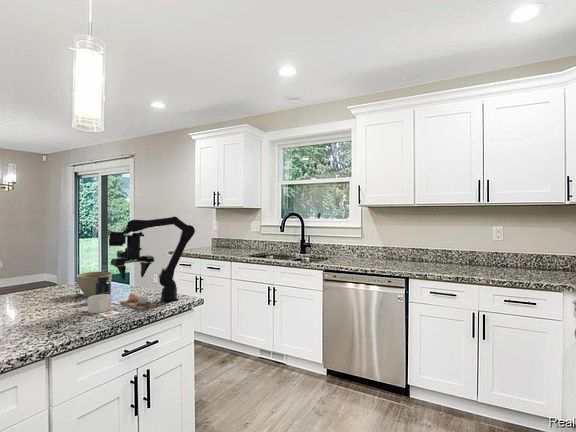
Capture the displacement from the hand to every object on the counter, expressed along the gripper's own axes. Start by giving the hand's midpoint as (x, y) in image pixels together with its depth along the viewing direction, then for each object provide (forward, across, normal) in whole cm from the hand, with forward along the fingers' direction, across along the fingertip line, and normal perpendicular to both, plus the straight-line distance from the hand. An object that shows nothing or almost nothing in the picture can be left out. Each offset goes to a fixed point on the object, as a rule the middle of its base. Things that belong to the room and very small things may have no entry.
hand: (132, 278), depth 157 cm
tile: (+12, +15, +8) cm, 21 cm away
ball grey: (+9, 0, +9) cm, 13 cm away
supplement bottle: (+12, +6, -15) cm, 21 cm away
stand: (+12, 0, +5) cm, 13 cm away
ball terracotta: (+9, 0, 0) cm, 9 cm away
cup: (+12, +15, -1) cm, 19 cm away
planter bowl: (+12, +3, -31) cm, 34 cm away
